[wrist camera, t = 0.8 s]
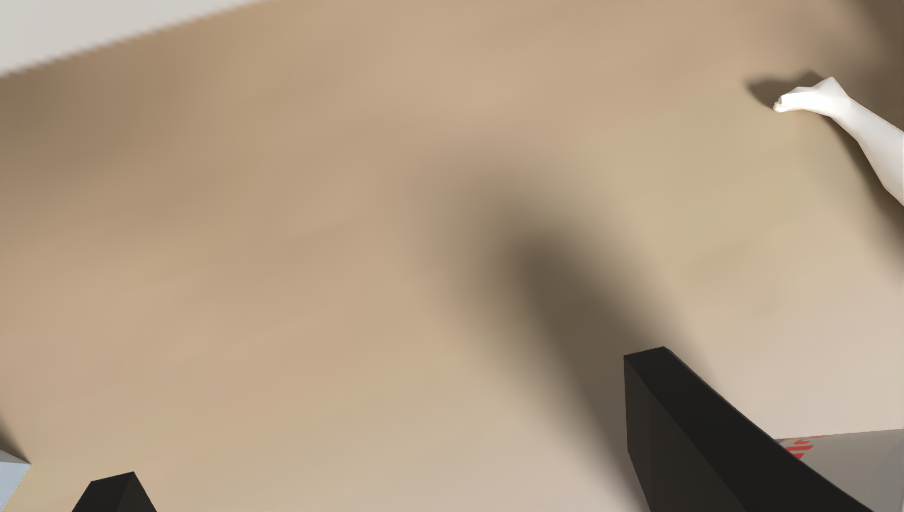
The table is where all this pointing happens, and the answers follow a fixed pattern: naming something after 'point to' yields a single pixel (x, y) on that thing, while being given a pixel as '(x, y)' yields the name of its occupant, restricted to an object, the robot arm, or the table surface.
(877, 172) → the person figurine
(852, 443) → the energy drink
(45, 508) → the table surface
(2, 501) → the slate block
